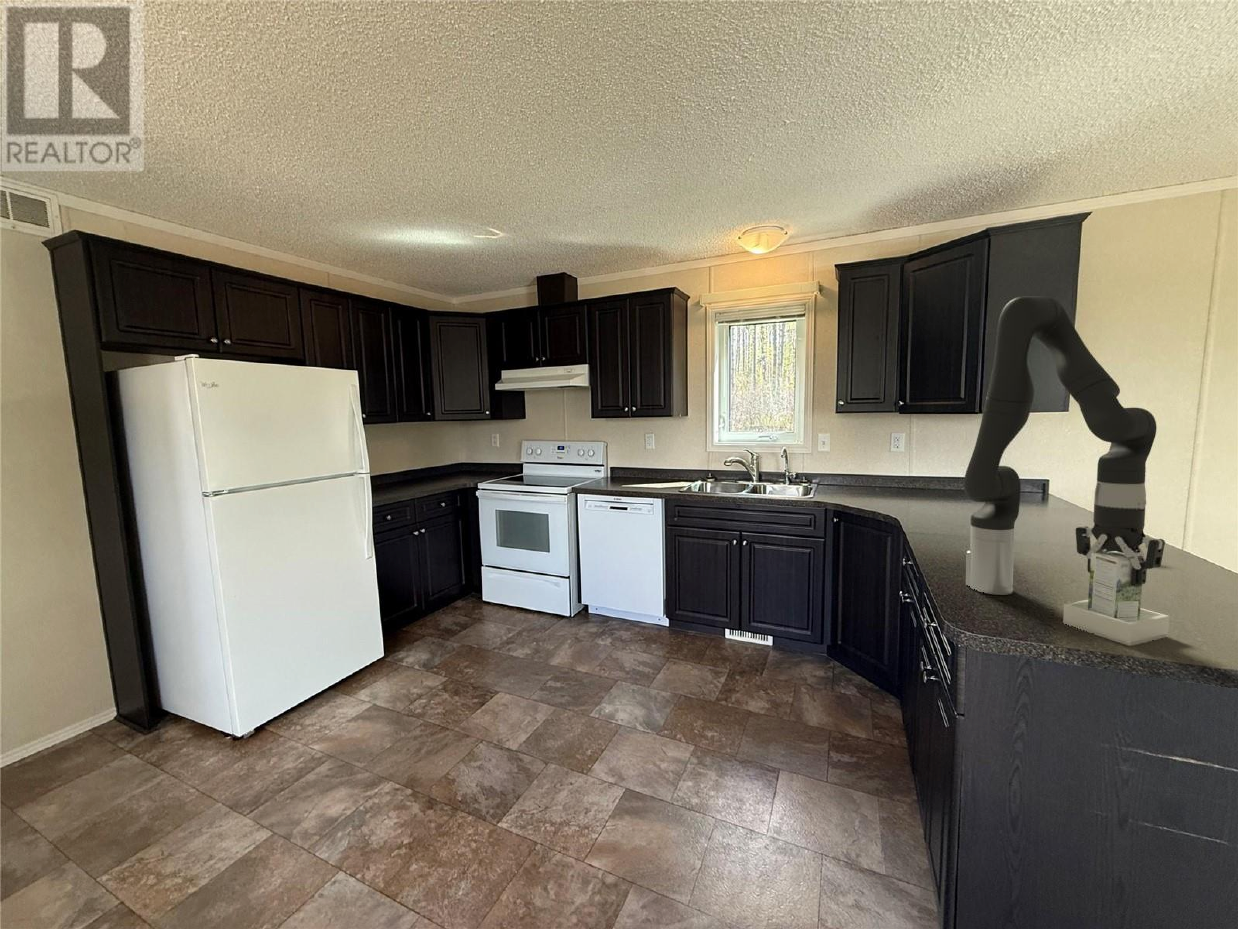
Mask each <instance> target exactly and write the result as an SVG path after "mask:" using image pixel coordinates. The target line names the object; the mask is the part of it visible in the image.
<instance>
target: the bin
mask: <svg viewBox="0 0 1238 929" xmlns="http://www.w3.org/2000/svg"><path fill="white" fill-rule="evenodd" d="M1062 622H1063V623H1064V624H1063V625H1065V624H1067V625H1066V626H1068V625H1069V626H1068V627H1071V626H1074V627H1076V628H1075V629H1077V628H1078V630H1080V629H1081V630H1080V631H1083V630H1085V631H1084V632H1086V631H1087V633H1089V634H1092V633H1094V634H1093V635H1096V636H1098V637H1102V638H1104V639H1107V640H1109V641H1113V642H1116V643H1119V644H1122V645H1126V646H1128V647H1133V646H1136V645H1140V644H1146V643H1148V642H1149V641H1150V642H1153V641H1152V640H1154V641H1157V640H1161V638H1162V639H1165V637H1166V638H1168V637H1169V624H1170V623H1169V622H1170V615H1167V614H1164V613H1159V612H1156V611H1153V610H1149V609H1145V608H1142V607H1140V620H1137V621H1133V622H1125V621H1122V620H1119V619H1115V618H1112V617H1109V616H1105V615H1102V614H1099V613H1095V612H1092V611H1089V610H1088V599H1084V600H1079V601H1075V602H1074V601H1073V602H1070V603H1064V604H1063V621H1062ZM1074 627H1073V628H1074Z"/></svg>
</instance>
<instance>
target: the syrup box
mask: <svg viewBox="0 0 1238 929" xmlns="http://www.w3.org/2000/svg"><path fill="white" fill-rule="evenodd" d="M1133 568H1134V567H1133V565H1132V563H1131V562H1130V560H1129V559H1128V558H1126V556H1125V554H1124V553H1121V552H1117V551H1112V552H1093V553H1091V563H1090V573H1089V578H1088V582H1089V583H1088V598H1087V600H1088V610H1089V611H1092V612H1095V613H1099V614H1102V615H1105V616H1109V617H1112V618H1115V619H1119V620H1122V621H1125V622H1133V621H1137V620H1140V608H1141V606H1142V593H1143V592H1142V589H1143V585H1142V586H1139V587H1135V586H1132V585H1131V577H1132V569H1133Z"/></svg>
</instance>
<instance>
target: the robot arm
mask: <svg viewBox="0 0 1238 929" xmlns="http://www.w3.org/2000/svg"><path fill="white" fill-rule="evenodd" d="M1000 312H1001V313H1000V316H999V319H998V324H997V330H996V331H997V332H996V333H997V334H996V341H995V352H994V359H993V363H992V365H993V366H992V369H991V375H990V380H989V384H988V388H987V394H986V398H985V402H984V404H983V405H984V407H983V410H982V416H981V422H980V425H979V430H978V433H977V437H976V441H975V445H974V448H973V452H972V454H971V458H970V460H969V462H968V465H967V468H966V471H965V475H964V479H963V488H964V492H965V494H966V496H967V497H968V498H969V500H972V501H974V502H977V503H984V504H983V506H981V508H979V509H978V510H977V511H975V512H973V513H972V514H971V516H970V538H969V540H970V541H969V544H970V545H969V546H970V547H969V550H968V551H966V554H965V555H966V557H965V558H966V560H965V586H967V585H968V586H967V587H969V586H970V587H969V588H971V589H972V590H974V589H975V590H974V591H976V590H977V591H976V592H980V593H983V592H984V594H989V595H999V596H1000V595H1001V596H1003V595H1004V596H1006V595H1010V594H1013V586H1014V585H1013V584H1014V583H1013V582H1014V557H1015V556H1014V553H1015V552H1014V551H1015V549H1014V548H1015V546H1014V545H1015V522H1016V521H1017V519H1018V517H1019V515H1020V503H1021V493H1022V492H1021V491H1022V483H1021V479H1020V475H1019V474H1018V473H1017V471H1016V470H1015V469H1014V468H1012V467H1010V466H1007V465H1000V463H1001V460H1002V457H1003V454H1004V453H1005V451H1006V449H1007V448H1008V447H1009V445H1010V444H1011V442H1012V441H1013V440H1014V439H1015V438H1016V436H1017V435H1018V434H1019V433H1020V432H1021V430H1022V429H1023V428H1024V427H1025V425H1026V424H1027V422H1028V419H1029V417H1030V414H1031V411H1032V410H1031V409H1032V405H1033V402H1034V396H1035V387H1034V383H1033V379H1032V377H1031V376H1032V375H1031V373H1030V369H1029V365H1028V357H1029V355H1028V353H1029V350H1030V345H1031V341H1032V339H1033V337H1035V338H1036V339H1037V340H1039V341H1040V342H1041V343H1042V344H1043V345H1044V346H1045V347H1046V348H1047V349H1048V350H1049V352H1050V353H1051V355H1052V357H1053V360H1054V365H1055V371H1056V375H1057V377H1058V378H1059V381H1060V383H1061V384H1062V386H1063V387H1064V388H1065V390H1066V391H1067V392H1068V393H1069V395H1070V396H1071V398H1073V400H1074V401H1075V402H1076V403H1077V405H1079V408H1080V412H1081V414H1082V416H1083V419H1084V421H1085V424H1086V426H1087V428H1088V430H1089V431H1090V432H1091V433H1092V434H1093V435H1094V436H1095V438H1098V439H1099V440H1101V441H1104V442H1106V443H1110V447H1109V449H1108V451H1107V453H1106V452H1105V454H1103V455H1101V456H1100V457H1099V459H1098V461H1097V466H1096V467H1097V471H1096V472H1097V474H1096V484H1095V488H1094V489H1095V490H1094V498H1093V500H1094V501H1093V519H1092V520H1093V526H1092V527H1089V526H1087V525H1086V526H1079V527H1076V528H1075V538H1076V539H1075V540H1076V552H1077V553H1078V554H1079V555H1083V556H1085V557H1086V558H1087V572H1088V573H1089V574H1090V563H1091V553H1093V552H1105V551H1106V550H1115V551H1117V552H1121V553H1124V554H1125V556H1126V558H1128V559H1129V560H1130V562H1131V563H1132V565H1133V567H1134V568H1133V569H1132V577H1131V585H1132V586H1135V587H1139V586H1142V587H1143V585H1145V584H1146V583H1147V570H1148V569H1149V570H1151V569H1156V568H1160V567H1162V566H1161V565H1162V561H1163V556H1164V549H1165V544H1166V541H1165V540H1164V539H1163V538H1157V539H1156V538H1153V537H1148V536H1147V535H1145V534H1146V533H1144V528H1145V525H1146V524H1145V521H1146V505H1147V490H1146V473H1147V472H1146V470H1147V468H1146V464H1147V463H1146V462H1147V460H1148V459H1149V455H1150V453H1151V451H1152V447H1153V445H1154V441H1155V438H1156V436H1157V428H1158V427H1157V422H1156V418H1155V417H1154V415H1153V414H1152V412H1151V411H1149V410H1148V409H1145V408H1142V407H1124V406H1123V405H1122V404H1121V403H1120V401H1119V399H1118V398H1117V397H1118V396H1119V395H1120V393H1121V389H1120V386H1119V385H1118V384H1117V382H1116V381H1115V380H1114V379H1113V377H1111V375H1110V374H1109V373H1108V372H1107V371H1106V370H1105V368H1104V367H1103V366H1102V365H1101V364H1100V363H1099V361H1097V359H1096V358H1095V356H1093V354H1092V352H1090V350H1089V348H1088V347H1087V346H1086V344H1085V343H1084V341H1083V340H1082V338H1081V337H1080V335H1079V333H1078V331H1077V329H1076V328H1075V326H1074V324H1073V323H1072V320H1071V318H1070V317H1069V315H1068V313H1067V311H1066V309H1065V307H1064V306H1063V305H1062V303H1061V302H1060V301H1059V300H1057V299H1056V298H1055V297H1050V296H1042V295H1041V296H1039V295H1038V296H1036V295H1035V296H1027V295H1026V296H1019V297H1018V296H1017V297H1015V298H1013V299H1011V300H1009V302H1008V303H1006V304H1005V305H1004V307H1003V308H1002V311H1000ZM1092 536H1093V537H1094V538H1095V539H1096V541H1095V542H1094V544H1092V546H1091V537H1092ZM1142 544H1144V545H1145V546H1144V547H1145V548H1146V549H1147V551H1146V556H1145V553H1144V551H1143V550H1142V548H1141V545H1142Z"/></svg>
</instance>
